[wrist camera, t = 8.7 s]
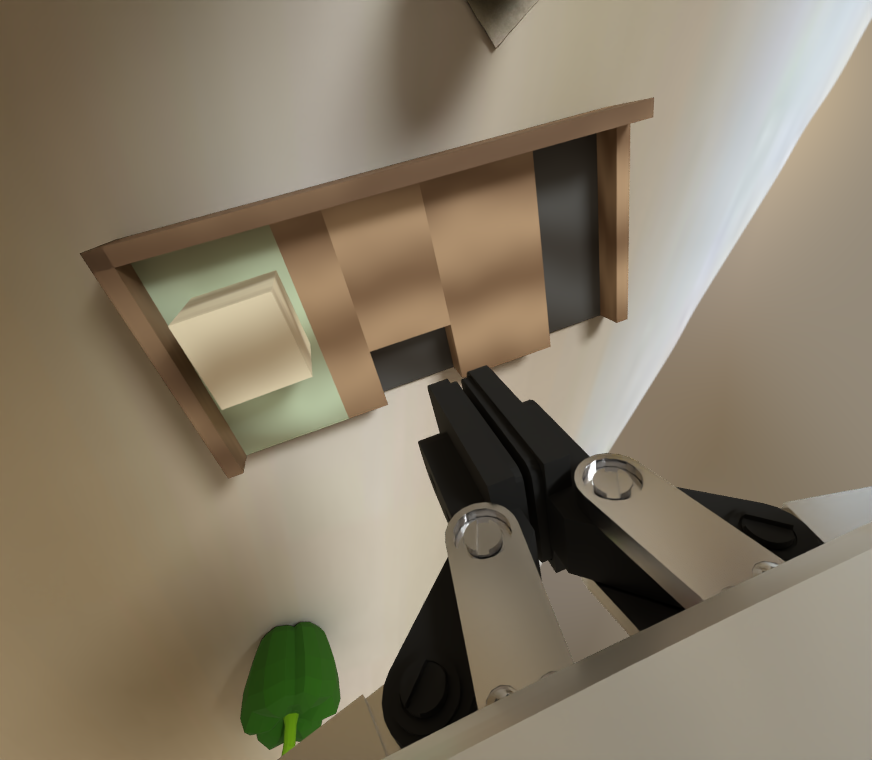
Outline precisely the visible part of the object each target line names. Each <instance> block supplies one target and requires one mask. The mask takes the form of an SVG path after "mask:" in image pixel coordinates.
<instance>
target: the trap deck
mask: <svg viewBox="0 0 872 760" xmlns="http://www.w3.org/2000/svg"><path fill="white" fill-rule="evenodd" d="M653 110H654V98H649V99H644V100H639V101H634V102H629V103H624V104H619V105H614V106H609V107H604V108H601V109H597V110H593V111H590V112H586V113H582V114H579V115H575V116H571V117H567V118H564V119H560V120H556V121H553V122H549V123H545V124H542V125H538V126H534V127H530V128H527V129H523V130H519V131H516V132H512V133H508V134H505V135H501V136H497V137H494V138H490V139H486V140H482V141H479V142H475V143H471V144H468V145H464V146H460V147H457V148H453V149H449V150H445V151H442V152H438V153H434V154H431V155H427V156H423V157H420V158H416V159H412V160H408V161H405V162H401V163H397V164H394V165H390V166H386V167H383V168H379V169H375V170H371V171H368V172H364V173H360V174H357V175H353V176H349V177H346V178H342V179H338V180H335V181H331V182H327V183H323V184H320V185H316V186H312V187H309V188H305V189H301V190H298V191H294V192H290V193H286V194H283V195H279V196H275V197H272V198H268V199H264V200H261V201H257V202H253V203H249V204H246V205H242V206H238V207H235V208H231V209H227V210H224V211H220V212H216V213H212V214H209V215H205V216H201V217H198V218H194V219H190V220H187V221H183V222H179V223H175V224H172V225H168V226H164V227H161V228H157V229H153V230H150V231H146V232H142V233H139V234H135V235H131V236H127V237H124V238H120V239H116V240H113V241H111V242H108V243H106V244H103V245H100V246H98V247H95V248H93V249H90V250H88V251H85V252H82V253H80V255H81V256H82V258H83V259H84V261H85V262H86V264H87V265H88V267H89V268H90V270H91V271H92V273H93V274H94V276H95V277H96V279H97V280H98V282H99V283H100V285H101V287H102V288H103V290H104V291H105V293H106V294H107V296H108V297H109V299H110V300H111V302H112V303H113V305H114V306H115V308H116V309H117V311H118V312H119V314H120V315H121V317H122V318H123V320H124V321H125V323H126V324H127V326H128V327H129V329H130V330H131V332H132V333H133V335H134V337H135V338H136V340H137V341H138V343H139V344H140V346H141V347H142V349H143V350H144V352H145V353H146V355H147V356H148V358H149V359H150V361H151V362H152V364H153V365H154V367H155V368H156V370H157V371H158V373H159V374H160V376H161V377H162V379H163V380H164V382H165V383H166V385H167V386H168V388H169V390H170V391H171V393H172V394H173V396H174V397H175V399H176V400H177V402H178V403H179V405H180V406H181V408H182V409H183V411H184V412H185V414H186V415H187V417H188V418H189V420H190V421H191V423H192V424H193V426H194V427H195V429H196V430H197V432H198V433H199V435H200V436H201V438H202V440H203V441H204V443H205V444H206V446H207V447H208V449H209V450H210V452H211V453H212V455H213V456H214V458H215V459H216V461H217V462H218V464H219V465H220V467H221V468H222V470H223V471H224V473H225V474H226V476H227V477H228V478H231V477H234V476H237V475H239V474H242V473H244V467H245V461H246V456H247V455H249V454H252V453H255V452H257V451H260V450H263V449H266V448H269V447H271V446H274V445H277V444H280V443H283V442H285V441H288V440H291V439H294V438H297V437H299V436H302V435H305V434H308V433H311V432H313V431H316V430H319V429H322V428H325V427H327V426H330V425H333V424H336V423H338V422H341V421H344V420H347V419H349V418H352V417H355V416H358V415H360V414H363V413H366V412H369V411H372V410H374V409H377V408H380V407H383V406H386V405H388V403H387V400H386V397H385V395H384V392H383V391H386V390H389V389H392V388H395V387H397V386H400V385H403V384H406V383H409V382H412V381H415V380H417V379H420V378H423V377H426V376H429V375H432V374H434V373H437V372H440V371H443V370H446V369H449V368H451V367H454V368H455V369H456V370H457V371H458V373H459V374H460V375H461V376H462V378H464V377H467V372H468V371H471V370H474V369H476V368H479V367H482V366H485V365H487V366H488V367H489V368H492V367H495V366H497V365H500V364H503V363H506V362H509V361H511V360H514V359H517V358H520V357H523V356H525V355H528V354H531V353H534V352H537V351H539V350H542V349H545V348H548V347H551V346H550V335H549V333H551V332H554V331H556V330H559V329H562V328H565V327H568V326H571V325H574V324H576V323H579V322H582V321H585V320H588V319H591V318H593V317H596V316H599V315H601V316H604V317H606V318H608V319H610V320H612V321H614V322H616V323H618V322H620V321H623V320H626V319H627V314H628V245H629V176H630V123H634V122H637V121H641V120H645V119H648V118H652V117H653ZM275 270H276V271H277V273H278V275H279V277H280V279H281V282H282V284H283V286H284V288H285V290H286V292H287V295H288V297H289V299H290V301H291V303H292V305H293V308H294V310H295V312H296V314H297V316H298V318H299V321H300V323H301V325H302V327H303V329H304V331H305V333H306V336H307V338H308V340H309V342H310V347H311V362H312V376H313V377H311V378H308V379H305V380H302V381H300V382H297V383H294V384H292V385H289V386H286V387H283V388H281V389H278V390H275V391H273V392H270V393H267V394H264V395H262V396H259V397H256V398H254V399H251V400H248V401H245V402H243V403H240V404H237V405H235V406H232V407H229V408H226V409H224V410H222V409H221V408H220V406H219V405H218V403H217V402H216V400H215V398H214V397H213V395H212V394H211V392H210V391H209V389H208V388H207V386H206V385H205V383H204V381H203V380H202V378H201V377H200V375H199V374H198V372H197V371H196V369H195V368H194V366H193V365H192V363H191V361H190V360H189V358H188V357H187V355H186V354H185V352H184V351H183V349H182V348H181V346H180V344H179V343H178V341H177V340H176V338H175V337H174V335H173V334H172V332H171V331H170V329H169V327H168V325H169V324H170V323H171V322H172V321H173V319H174V318H175V317H176V316H177V315H178V313H179V312H180V311H181V310H182V309H183V307H184V306H185V305H186V304H187V303H188V301H189V300H190V299H191V298H193V297H196V296H199V295H202V294H205V293H208V292H211V291H214V290H217V289H220V288H223V287H226V286H229V285H232V284H235V283H238V282H241V281H244V280H247V279H250V278H253V277H256V276H259V275H262V274H266V273H269V272H272V271H275Z"/></svg>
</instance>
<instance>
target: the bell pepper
mask: <svg viewBox="0 0 872 760" xmlns="http://www.w3.org/2000/svg"><path fill="white" fill-rule="evenodd" d="M339 702H340V689H339V678H338V673H337V669H336V665H335V660H334V657H333V654H332V651H331V648H330V645H329V642H328V640H327V637H326V635H325V632H324V631H323V630H322V629H321V628H320V627H318V626H317V625H315V624H313V623H311V622H300V623H299V624H297V625H296V626H295V627H293V626H289V625H285V626H278V627H275V628H274V629H272V630H271V631H270V632H268V633H267V634H266V635H265V637H264V638H263V639H262V640H261V642H260V645H259V647H258V650H257V652H256V655H255V658H254V660H253V663H252V666H251V669H250V672H249V676H248V679H247V683H246V686H245V689H244V693H243V700H242V708H241V717H240V719H241V723H242V726H243V729H244V732H245V733H246V734H248V735H254V734H256V735H257V738H258V741H260V742H261V743H262V744H263V745H264V746H266V747H267V748H268V749H269V750H270V749H272V748H274V747H276V746H278V745H280V744H282V743H284V744H283V751H282V756H283V755H284V754H285V753H287V752H288V751H289V750H291V749H292V748H293V747H294V746H295V742H296V741H298V742H301V741H302V740H304V739H305V738H306V737H308V736H309V735H310V734H311V733H313V732H314V731H315V730H317V729H318V728H319V727H321V724H322V720H323V719H325V718H327V717H329V716H331V715H334V714H336V712H337V709H338V705H339Z"/></svg>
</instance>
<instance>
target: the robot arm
mask: <svg viewBox="0 0 872 760" xmlns="http://www.w3.org/2000/svg"><path fill="white" fill-rule="evenodd" d="M461 383H462V388H463V390H462V388H461V387H460V385H459V384H458V383H457V382H453V383H450V382H449V380H448V379H445V380H442V381H440V382H437V383H434V384H431V385H428V392H429V395H430V399H431V403H432V406H433V410H434V413H435V417H436V421H437V424H438V428H439V432H440V433H439V434H437V435H434V436H431V437H428V438H426V439H423V440H420V441H418V444H419V447H420V451H421V454H422V457H423V460H424V463H425V466H426V469H427V472H428V475H429V478H430V480H431V483H432V486H433V488H434V491H435V493H436V496H437V498H438V501H439V503H440V505H441V508H442V510H443V513H444V515H445V517H446V520H447V522H448V526H447V529H446V531H445V543H446V548H447V553H448V558H447V560H446V562H445V564H444V566H443V568H442V569H441V571H440V573H439V575H438V577H437V579H436V581H435V583H434V585H433V587H432V589H431V591H430V593H429V595H428V597H427V599H426V601H425V603H424V604H423V606H422V608H421V610H420V612H419V614H418V616H417V618H416V620H415V622H414V624H413V626H412V628H411V630H410V632H409V634H408V636H407V638H406V639H405V641H404V643H403V645H402V647H401V649H400V651H399V653H398V655H397V657H396V659H395V661H394V663H393V665H392V667H391V669H390V671H389V673H388V676H387V678H386V681H385V684H384V685H383V686H381V687H380V688H379V689H378V690H376V691H375V692H374V693H372V694H371V695H370V696H369V697H367V698H366V699H365V697H364V696H363V694H362V695H361V696H360V697H358V698H357V699H356V700H355V701H353V702H352V703H351V704H349V705H348V706H347V707H345V708H344V709H343V710H341V711H340V712H339V713H338V714H336V715H335V716H334V717H332V718H331V719H330V720H328V721H327V722H326V723H325V724H323V725H322V726H321V727H319V728H318V729H317V730H315V731H314V732H313V733H311V734H310V735H309V736H308V737H306V738H305V739H304V740H302V741H301V742H300V743H298V744H297V745H296V746H294V747H293V748H292V749H291V750H289V751H288V752H287V753H285V754H284V755H283V756H281V757H280V758H279V759H278V760H872V486H871V487H866V488H860V489H855V490H849V491H844V492H839V493H833V494H827V495H822V496H817V497H811V498H806V499H800V500H796V501H790V502H784V504H783V507H782V508H781V509H780V508H778V507H774V506H771V505H767V504H764V503H759V502H754V501H748V500H743V499H738V498H732V497H727V496H722V495H716V494H711V493H706V492H700V491H695V490H690V489H684V488H679V487H675V486H673V485H672V484H670V483H669V482H667V481H666V480H664V479H663V478H661V477H660V476H659V475H657V474H656V473H654V472H653V471H651V470H650V469H648V468H647V467H645V466H644V465H642V464H641V463H639V462H638V461H636V460H634V459H631V458H630V457H627V456H623V455H620V454H611V453H604V454H597V455H593V456H591V457H590V456H589V455H588V454H587V453H586V452H585V451H584V450H583V449H582V448H581V447H580V446H579V445H578V444H577V443H576V442H575V441H574V440H573V439H572V438H571V437H570V436H569V435H568V434H567V433H566V432H565V431H564V430H563V429H562V428H561V427H560V426H559V425H558V424H557V423H556V422H555V421H554V420H553V419H552V418H551V417H550V416H549V415H548V414H547V413H546V412H545V411H544V410H543V409H542V408H541V407H540V406H539V405H538V404H537V403H536V402H535V401H533V400H528V401H525V402H521V401H520V400H519V399H518V398H517V397H516V396H515V395H514V393H513V392H512V391H511V390H510V389H509V388H508V387H507V386H506V385H505V384H504V383H503V382H502V381H501V380H500V378H499V377H498V376H497V375H496V374H495V373H494V372H493V371H492V370H491V369H490V368H489V367H488V366H487V365H485V366H482V367H479V368H476V369H474V370H471V371H468V372H467V378H464V379H462V380H461ZM539 560H540V561H541V562H542V563H543V562H545V561H547V560H548V561H549V562H550V564H551V566H552V567H553V569H554V570H555V572H556V573H557V572H560V571H562V570H564V569H566V570H567V571H568V573H571V574H574V575H578V576H580V577H582V581H583V583H584V584H585V585H586V587H587V588H588V590H589V591H590V592H591V593H592V594H593V595H594V597H595V598H596V599H597V600H598V601H599V602H600V603H601V604H602V605H603V607H604V608H605V609H606V610H607V611H608V612H609V613H610V615H611V616H612V617H613V618H614V619H615V620H616V621H617V622H618V623H619V624H620V626H621V627H622V628H623V629H624V630H625V631H626V632H627V634H628V635H629V636H630V637H628V638H626V639H624V640H622V641H620V642H617V643H615V644H613V645H611V646H609V647H607V648H605V649H603V650H601V651H599V652H597V653H595V654H593V655H591V656H588V657H586V658H584V659H582V660H580V661H578V662H576V663H574V661H573V659H572V656H571V654H570V651H569V649H568V646H567V644H566V641H565V639H564V636H563V634H562V631H561V629H560V626H559V624H558V621H557V619H556V616H555V613H554V611H553V609H552V606H551V603H550V601H549V599H548V596H547V593H546V591H545V588H544V586H543V583H542V580H541V573H540V565H539Z"/></svg>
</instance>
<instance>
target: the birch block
mask: <svg viewBox="0 0 872 760" xmlns="http://www.w3.org/2000/svg"><path fill="white" fill-rule="evenodd" d="M168 327H169V329H170V331H171V332H172V334H173V335H174V337H175V338H176V340H177V341H178V343H179V344H180V346H181V348H182V349H183V351H184V352H185V354H186V355H187V357H188V358H189V360H190V361H191V363H192V365H193V366H194V368H195V369H196V371H197V372H198V374H199V375H200V377H201V378H202V380H203V381H204V383H205V385H206V386H207V388H208V389H209V391H210V392H211V394H212V395H213V397H214V398H215V400H216V402H217V403H218V405H219V406H220V408H221V409H222V410H224V409H226V408H229V407H232V406H235V405H237V404H240V403H243V402H245V401H248V400H251V399H254V398H256V397H259V396H262V395H264V394H267V393H270V392H273V391H275V390H278V389H281V388H283V387H286V386H289V385H292V384H294V383H297V382H300V381H302V380H305V379H308V378H311V377H313V376H312V362H311V347H310V342H309V340H308V338H307V336H306V333H305V331H304V329H303V327H302V325H301V323H300V321H299V318H298V316H297V314H296V312H295V310H294V308H293V305H292V303H291V301H290V299H289V297H288V295H287V292H286V290H285V288H284V286H283V284H282V282H281V279H280V277H279V275H278V273H277V271H276V270H275V271H272V272H269V273H266V274H262V275H259V276H256V277H253V278H250V279H247V280H244V281H241V282H238V283H235V284H232V285H229V286H226V287H223V288H220V289H217V290H214V291H211V292H208V293H205V294H202V295H199V296H196V297H193V298H191V299H190V300H189V301H188V303H187V304H186V305H185V306H184V307H183V309H182V310H181V311H180V312H179V313H178V315H177V316H176V317H175V318H174V319H173V321H172V322H171V323H170V324H169V325H168Z"/></svg>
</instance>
